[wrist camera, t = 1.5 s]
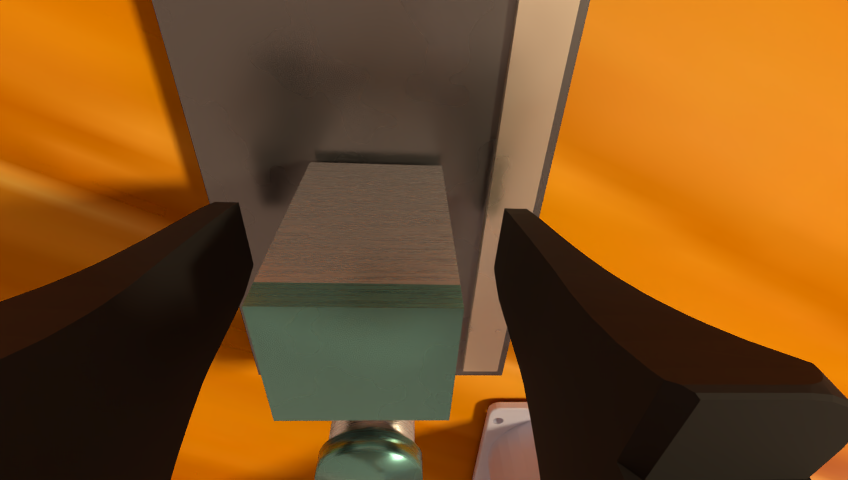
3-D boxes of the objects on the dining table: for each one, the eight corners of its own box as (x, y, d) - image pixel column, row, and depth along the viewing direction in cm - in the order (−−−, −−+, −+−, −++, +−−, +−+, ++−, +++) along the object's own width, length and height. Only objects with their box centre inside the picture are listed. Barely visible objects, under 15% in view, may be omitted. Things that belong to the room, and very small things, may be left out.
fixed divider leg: (417, 349, 16) (420, 504, 12) (345, 348, 16) (320, 506, 12) (420, 296, 15) (425, 452, 10) (340, 295, 15) (308, 453, 10)
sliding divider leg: (434, 258, 13) (448, 420, 9) (321, 256, 13) (273, 420, 8) (441, 165, 11) (463, 308, 7) (310, 162, 11) (241, 305, 7)
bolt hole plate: (497, 356, 18) (502, 379, 17) (266, 354, 18) (257, 378, 17) (632, -263, 8) (662, -293, 7) (94, -307, 8) (45, -346, 7)
